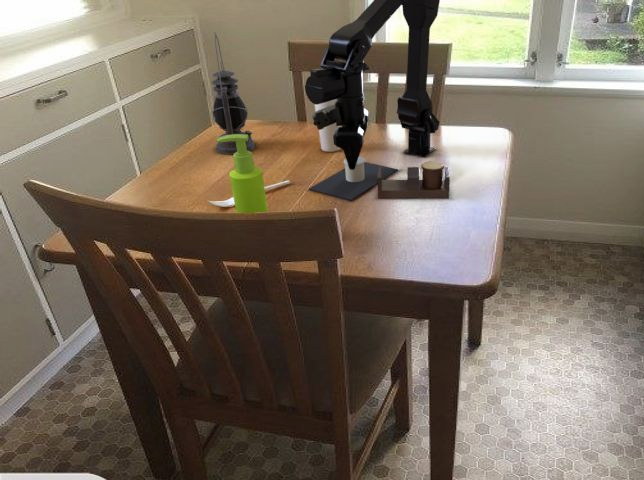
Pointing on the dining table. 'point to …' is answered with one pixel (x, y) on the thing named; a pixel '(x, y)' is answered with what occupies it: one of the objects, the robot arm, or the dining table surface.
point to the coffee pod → (355, 171)
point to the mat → (352, 190)
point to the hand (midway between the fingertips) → (354, 161)
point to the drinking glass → (327, 130)
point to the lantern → (229, 109)
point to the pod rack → (411, 187)
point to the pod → (432, 174)
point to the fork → (231, 201)
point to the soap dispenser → (246, 178)
